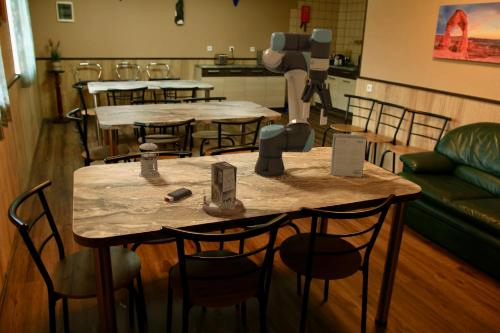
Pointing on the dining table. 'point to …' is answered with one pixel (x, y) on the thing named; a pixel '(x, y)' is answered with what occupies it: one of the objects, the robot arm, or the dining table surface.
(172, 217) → the dining table surface
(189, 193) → the usb drive
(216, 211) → the pin nest
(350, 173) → the hard drive box
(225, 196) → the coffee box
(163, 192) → the dining table surface
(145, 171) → the french press
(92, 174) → the dining table surface
